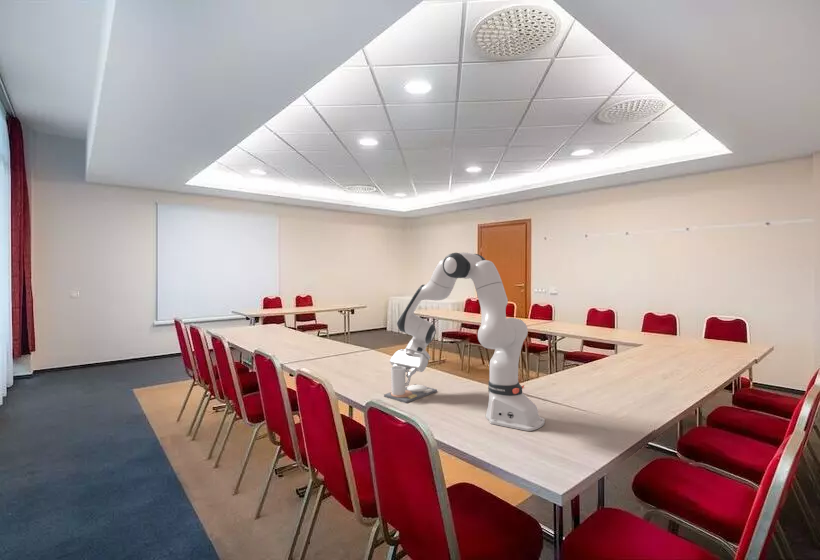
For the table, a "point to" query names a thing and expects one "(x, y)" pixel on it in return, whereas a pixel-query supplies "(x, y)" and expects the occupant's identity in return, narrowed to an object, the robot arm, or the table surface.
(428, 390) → the grey food tray
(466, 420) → the table surface
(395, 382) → the mug
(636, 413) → the table surface
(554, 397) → the table surface
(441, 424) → the table surface
